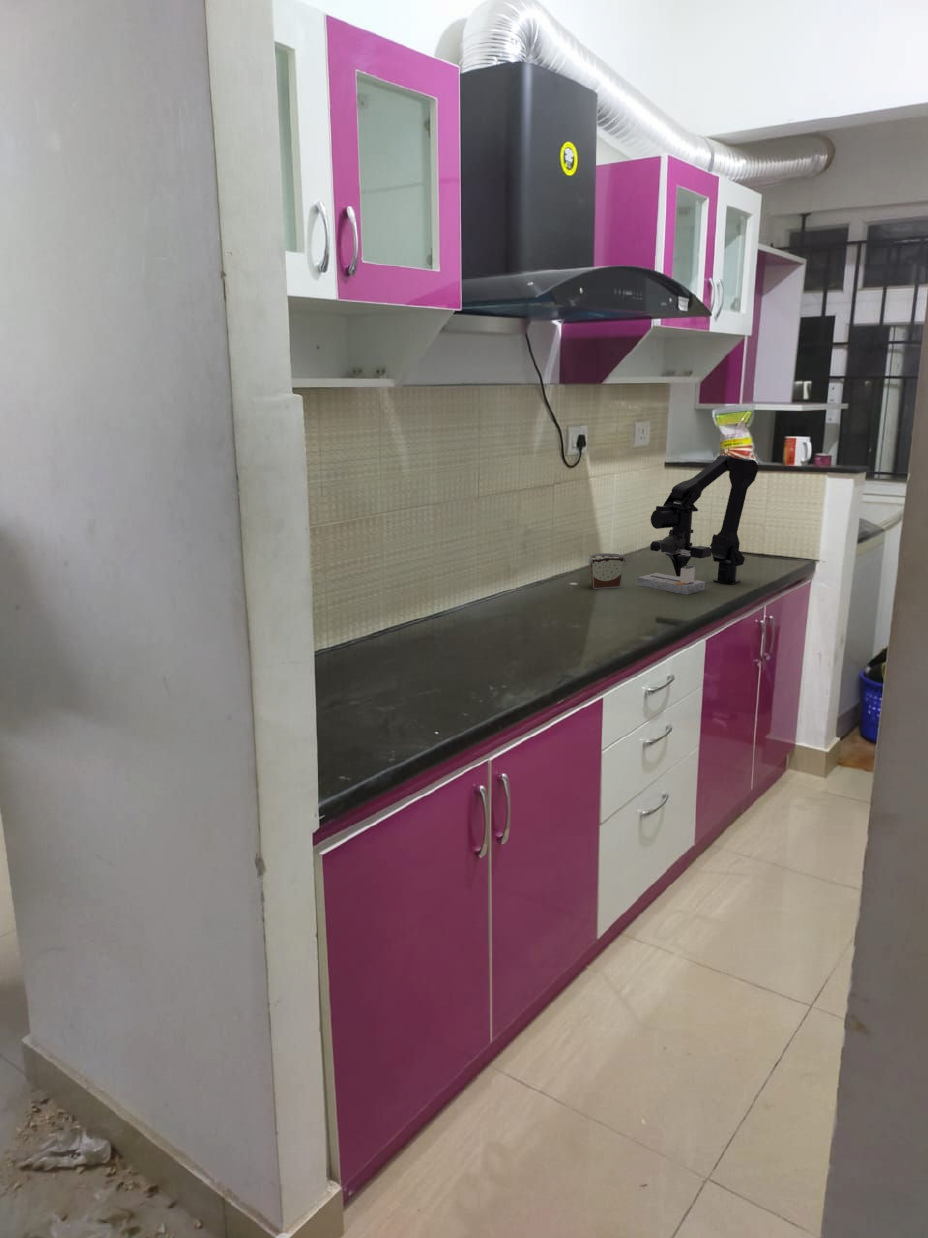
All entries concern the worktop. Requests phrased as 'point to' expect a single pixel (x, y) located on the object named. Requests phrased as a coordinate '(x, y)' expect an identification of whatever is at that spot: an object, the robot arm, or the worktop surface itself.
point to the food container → (606, 570)
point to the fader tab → (687, 574)
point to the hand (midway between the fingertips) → (678, 576)
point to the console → (670, 583)
